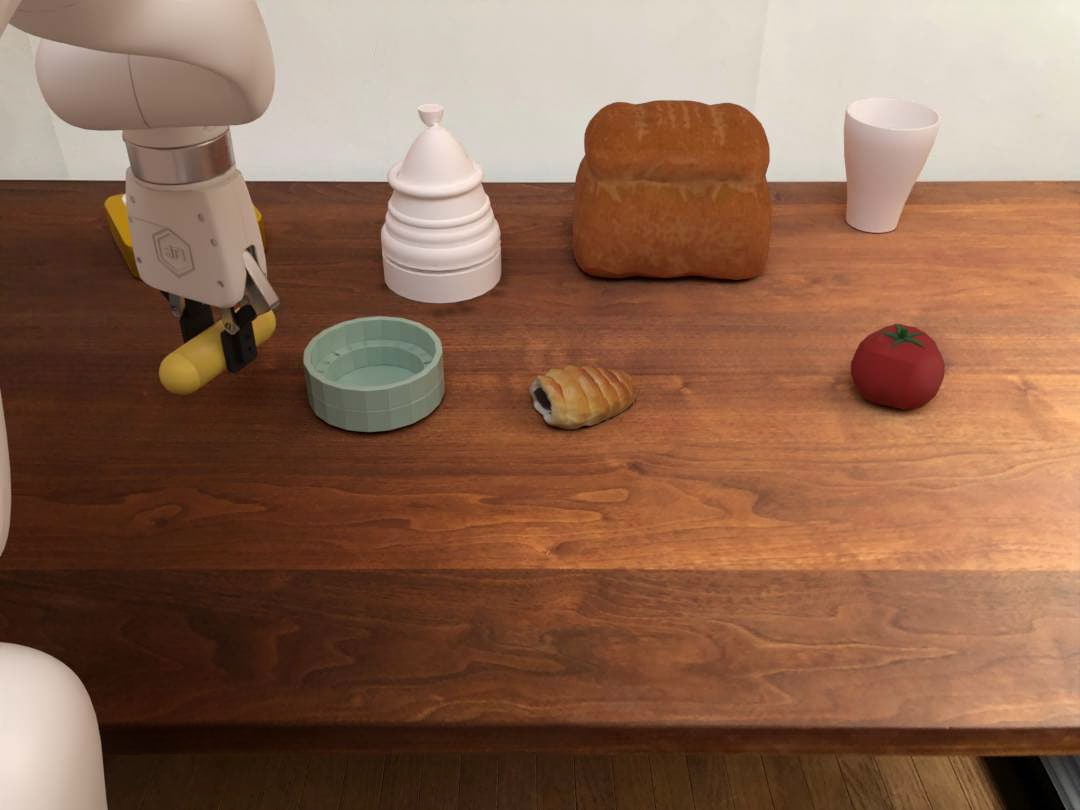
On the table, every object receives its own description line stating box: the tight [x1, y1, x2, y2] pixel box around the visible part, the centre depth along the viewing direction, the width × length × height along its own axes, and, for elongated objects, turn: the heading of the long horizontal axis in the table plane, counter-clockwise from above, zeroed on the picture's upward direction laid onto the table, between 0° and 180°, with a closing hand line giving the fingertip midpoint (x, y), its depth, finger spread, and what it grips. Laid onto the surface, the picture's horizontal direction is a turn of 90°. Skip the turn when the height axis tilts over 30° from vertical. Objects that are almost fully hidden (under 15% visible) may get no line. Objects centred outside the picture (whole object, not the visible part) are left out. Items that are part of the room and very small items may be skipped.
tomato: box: [850, 322, 946, 411], centre depth 95 cm, size 8×8×7 cm
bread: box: [572, 99, 773, 281], centre depth 115 cm, size 18×22×17 cm
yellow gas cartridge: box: [158, 305, 280, 396], centre depth 89 cm, size 14×4×4 cm, turn 153°
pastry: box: [529, 364, 637, 430], centre depth 94 cm, size 9×7×4 cm
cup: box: [843, 97, 942, 234], centre depth 123 cm, size 10×10×14 cm
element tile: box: [104, 192, 268, 281], centre depth 120 cm, size 15×15×5 cm
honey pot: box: [380, 103, 502, 304], centre depth 111 cm, size 13×13×18 cm
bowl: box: [302, 315, 446, 433], centre depth 95 cm, size 12×12×5 cm
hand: (222, 356), depth 90 cm, fingers closed on yellow gas cartridge, 3 cm apart
